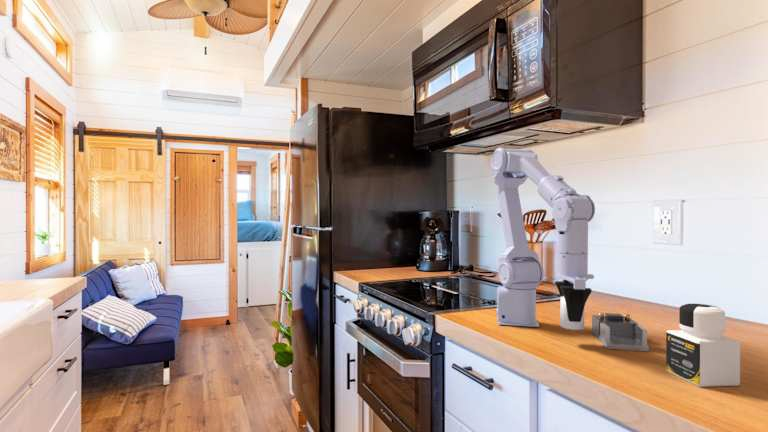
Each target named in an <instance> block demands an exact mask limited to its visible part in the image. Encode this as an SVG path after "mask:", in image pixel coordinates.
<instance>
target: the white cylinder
mask: <svg viewBox="0 0 768 432" xmlns="http://www.w3.org/2000/svg"><path fill="white" fill-rule="evenodd" d="M559 299H560V300H559V301H560V302H559V303H560V304H559V305H560V306H559V307H560V308H559V309H560V310H559V317H560V318H559V326H560V328H564V329H567V330H573V331H581V330H584V329H585V309H584V310H583V314H582V318H581V321H580V322H571V321H569V319H568V315H567V308H566V302H565V298H564V296H561V297H559Z"/></svg>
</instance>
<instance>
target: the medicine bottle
mask: <svg viewBox="0 0 768 432" xmlns="http://www.w3.org/2000/svg"><path fill="white" fill-rule="evenodd" d="M665 334H666V335H665V336H666V337H665V338H666V339H665V345H666V346H665V352H666V353H665V355H666V356H665V357H666V358H665V370H666V372H668V373H670V374H672V375H674V376H676V377H678V378H680V379H681V380H685V381H686V382H688V383H691V384H692V385H695V386H696V387H699V388H702V387H704V388H706V387H710V388H711V387H732V386H733V387H735V386H736V387H738V386H740V384H741V342H740V340H738V339H735V338H732V337H729V336H725V334H726V312H725V311H724V310H723V309H722V308H720V307H718V306H716V305H712V304H711V305H710V304H704V303H703V304H702V303H686V304H683V305H681V306H679V329H668V330H666V333H665Z"/></svg>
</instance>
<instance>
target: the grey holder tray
mask: <svg viewBox="0 0 768 432" xmlns="http://www.w3.org/2000/svg"><path fill="white" fill-rule="evenodd" d="M591 333H592V334H593V336H594V337H595V338H596V339H598V341H599V342H600V343H601V344H602V345H603V346H604V348H606V349H609V350H620V351H621V350H623V351H625V350H626V351H637V352H638V351H639V352H640V351H641V352H649V351H650V346H649V345H648V330H647V328H645V327H644V326H643V325H640V324H639V323H638V322H637V321H635V320H633V319H632V318H631V315H630V314H629V313H624V316H623V315H622V314H621V313H610V312H608V313H607V312H606V313H605V312H598V315H597V314H594V315H593V314H592V315H591Z"/></svg>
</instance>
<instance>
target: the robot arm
mask: <svg viewBox="0 0 768 432" xmlns="http://www.w3.org/2000/svg"><path fill="white" fill-rule="evenodd" d="M490 168H491V175H492V181H493V183H494V184H495V185H496V191H497V192H496V193H497V199H498V200H497V201H498V205H499V210H500V216H501V224H502V229H503V234H504V235H503V236H504V241H505V246H506V249H505V251H503V252H502V253H501V254H500V255H499V257H498V258H497V260H498V270H497V276H498V279H499V282H500V283H501V284H502V286H497V296H496V297H497V300H496V302H497V306H496V309H495V313H496V315H495V316H496V318H497V319H496V320H497V325H500V326H514V327H515V326H517V327H532V328H533V327H536V328H539V327H540V324H539V322H538V321H537V316H536V315H537V309H536V308H537V300H536V299H537V289H536V288H540V287H539V285H540V284H541V283H542V282H543V280H544V276H545V272H544V266H543V265H542V263H541V262H540V259H539V257H540V256H539V254H538V253H537V252H536V251H535V250H533V249H532V248H530V247H529V245H528V239H527V232H526V227H525V222H524V216H523V211H522V205H521V200H520V195H519V187H520V186H521V185H523V184H525V182H526V181H527V179H528V178H529V180H531V181H532V182H533V184H535V185H536V186H537V193H538V195H539V196H540V198H542V199H543V201H545V202H546V203H547V204H548V206H549V207H550V208H551V216H552V218H553V220H554V226H555V230H556V231H557V272H556V278H558V279H561V281H559V280H557V281H554V284H555V286H556V289H557V290H558V294H559V296H560V297H561V296H564V298H565V302H566V308H567V315H568V319H569V321H571V322H580V321H581V318H582V314H583V310H584V311H585V305H586V304H587V301H588V298H589V296H590V295H591V294H592V292H593V291H592V289H591V288H590V287H587V286H586V282H587V281H588V280H590V279H591V280H594V278H595V275H594V274H591V273H588V272H589V271H588V270H589V269H588V268H589V267H588V266H589V263H588V262H589V257H588V255H589V222H591V221H592V219H593V218H594V216H595V213H596V207H595V205H596V204H595V202H594V201H593V199H592V198H591V196H589V194H580V193H577V190H575V189H574V187H573V188H572V186H570V185H569V184H567V182H565V181H564V177H563V176H562V175H558V174H557V175H556V174H552V175H550V173H549V172H548V171H547V170H546V168H545V167H544V166H543V165H542V164H541V163H540V162H539V159H538V153H535V152H534V151H533V149H531V148H528V149H527V148H526V149H523V148H522V149H520V148H503V147H498V148H496V149H495V151H494V152H493V153H492V156H491V160H490ZM560 297H559V298H560Z"/></svg>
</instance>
